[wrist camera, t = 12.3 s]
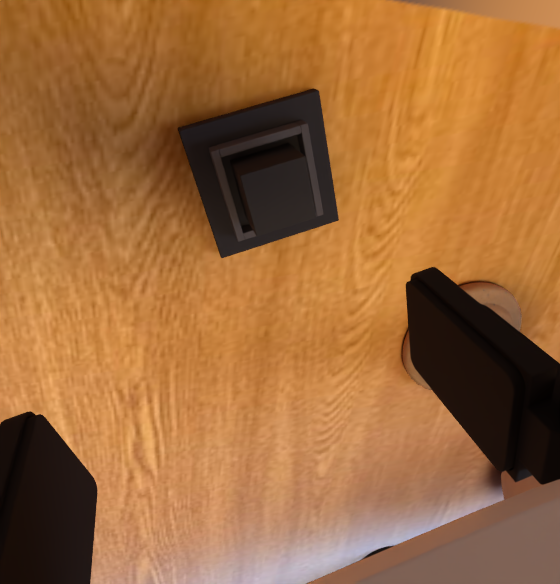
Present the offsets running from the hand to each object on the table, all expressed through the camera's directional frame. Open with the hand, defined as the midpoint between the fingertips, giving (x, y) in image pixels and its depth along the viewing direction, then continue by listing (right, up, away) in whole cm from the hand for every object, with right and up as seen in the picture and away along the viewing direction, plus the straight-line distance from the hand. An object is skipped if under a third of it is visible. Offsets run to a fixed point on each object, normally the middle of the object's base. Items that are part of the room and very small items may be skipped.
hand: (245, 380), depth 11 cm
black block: (0, +10, +18) cm, 21 cm away
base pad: (0, +10, +19) cm, 21 cm away
